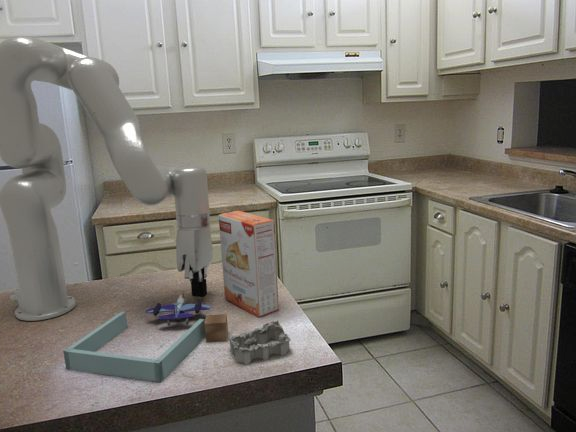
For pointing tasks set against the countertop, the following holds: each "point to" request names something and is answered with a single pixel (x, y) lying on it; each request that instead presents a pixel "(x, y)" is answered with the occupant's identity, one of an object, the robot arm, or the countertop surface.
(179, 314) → the toy airplane
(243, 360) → the egg carton
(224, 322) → the walnut block
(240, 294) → the cracker box
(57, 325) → the countertop surface
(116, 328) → the green u-shaped frame
